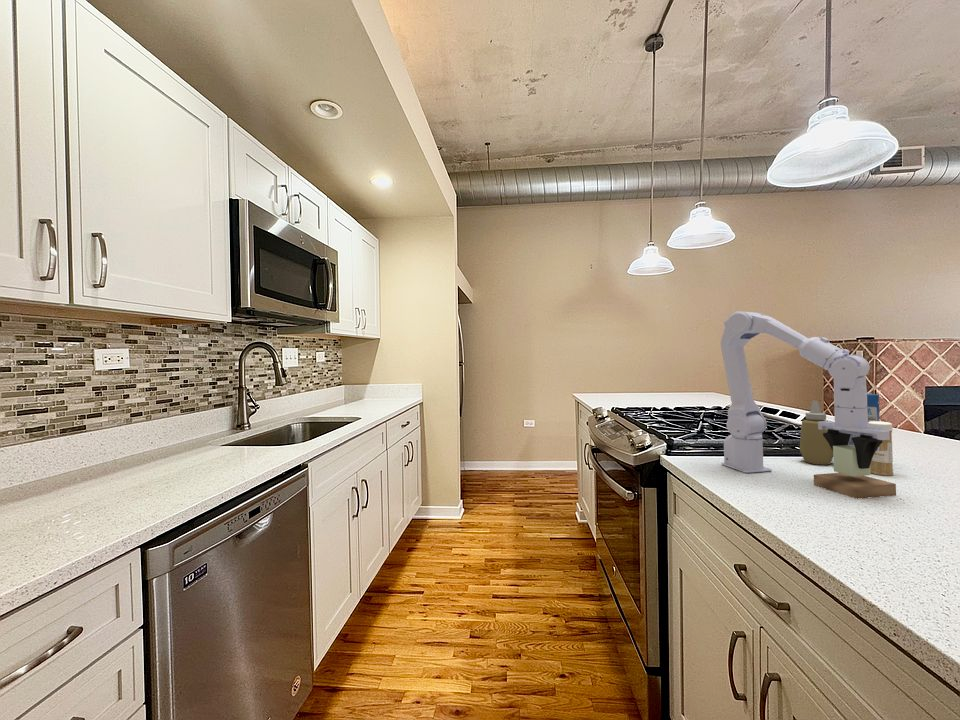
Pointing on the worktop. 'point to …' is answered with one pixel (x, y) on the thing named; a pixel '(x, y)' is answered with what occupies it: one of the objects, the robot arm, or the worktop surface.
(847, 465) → the sage block
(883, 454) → the sprinkles bottle
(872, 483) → the walnut block
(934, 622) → the worktop surface
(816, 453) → the squeeze bottle
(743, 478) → the worktop surface
